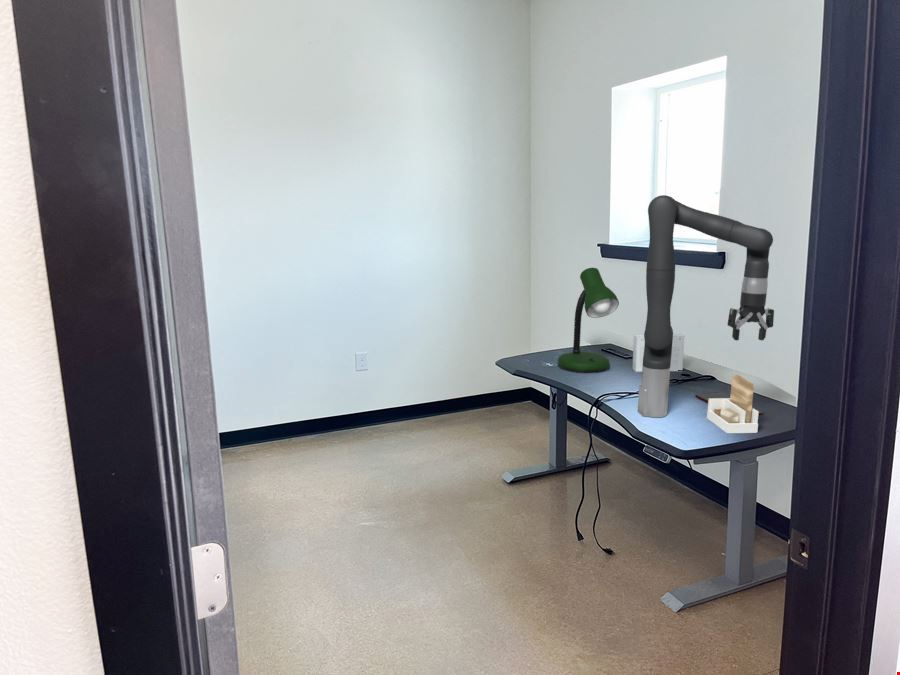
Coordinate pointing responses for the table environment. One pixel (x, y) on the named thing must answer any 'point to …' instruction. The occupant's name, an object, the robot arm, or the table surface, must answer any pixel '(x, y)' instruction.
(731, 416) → the offcut maple
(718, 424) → the rack
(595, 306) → the desk lamp
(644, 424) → the table surface
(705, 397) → the smartphone
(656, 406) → the robot arm
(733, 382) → the tan rectangular block
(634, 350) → the skincare box
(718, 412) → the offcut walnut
